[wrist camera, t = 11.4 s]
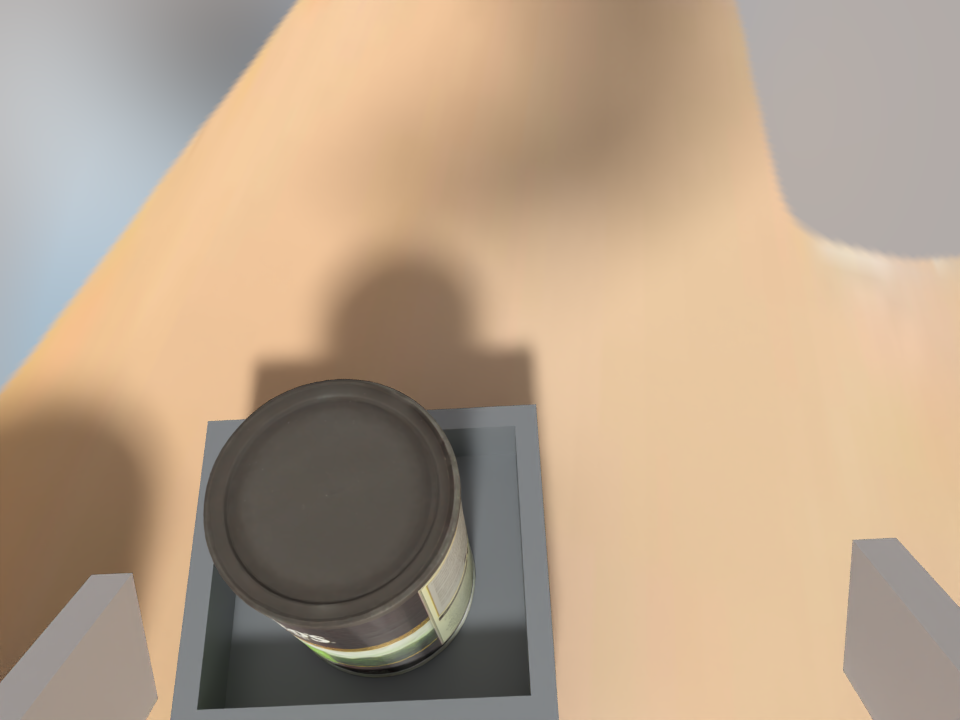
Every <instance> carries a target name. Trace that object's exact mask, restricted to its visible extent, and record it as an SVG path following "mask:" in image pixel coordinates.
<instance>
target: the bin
mask: <svg viewBox="0 0 960 720" xmlns="http://www.w3.org/2000/svg"><path fill="white" fill-rule="evenodd" d="M426 411H427V412H428V413H429V414H430V415H431V416H432V417H433V418H434V419H435V420H436V422H437V423H438V424H439V426H440V427H441V428H442V430H443V431H444V433H445V435H446V437H447V439H448V440H449V442H450V444H451V446H452V449H453V452H454V454H455V457H456V461H457V465H458V470H459V475H460V484H461V503H462V509H463V515H464V520H465V525H466V531H467V535H468V541H469V545H470V547H471V551H472V554H473V559H474V565H475V576H476V579H475V589H474V595H473V599H472V603H471V607H470V610H469V612H468V615H467V617H466V620H465V622H464V624H463V625H462V627H461V629H460V630H459V632H458V633H457V635H456V636H455V638H454V639H453V640H452V642H451V643H450V644H449V645H448V646H447V647H446V648H445V649H444V650H443V651H442V652H440V653H439V654H438V655H437V656H435V657H434V658H433V659H431V660H430V661H428V662H427V663H425V664H424V665H422V666H420V667H418V668H416V669H413V670H411V671H409V672H406V673H403V674H399V675H395V676H389V677H378V678H372V677H363V676H358V675H353V674H350V673H347V672H344V671H341V670H339V669H337V668H335V667H333V666H331V665H329V664H328V663H326V662H325V661H323V660H322V659H321V658H319V657H318V656H317V655H316V654H315V653H314V652H313V651H312V650H311V649H310V648H309V647H308V646H307V645H306V644H304V643H303V642H302V641H300V640H299V639H298V638H296V637H295V636H294V635H293V634H291V633H290V632H289V631H287V630H286V629H285V628H283V627H282V626H280V625H279V624H278V623H277V622H276V621H274V620H273V619H271V618H269V617H267V616H265V615H263V614H261V613H260V612H258V611H256V610H255V609H253V608H252V607H250V606H249V605H247V604H246V603H245V602H244V601H243V600H242V599H241V598H239V597H238V596H237V595H236V594H235V593H234V592H233V591H232V589H231V588H230V587H229V586H228V585H227V584H226V582H225V581H224V580H223V578H222V577H221V576H220V574H219V572H218V570H217V568H216V566H215V565H214V563H213V561H212V558H211V555H210V553H209V550H208V547H207V543H206V539H205V532H204V524H203V519H204V518H203V510H204V498H205V492H206V487H207V483H208V480H209V476H210V473H211V470H212V467H213V465H214V463H215V460H216V459H217V457H218V455H219V453H220V451H221V449H222V448H223V446H224V445H225V443H226V442H227V440H228V439H229V438H230V436H231V435H232V434H233V433H234V431H235V430H236V429H237V428H238V427H239V426H240V425H241V424H242V423H243V422H244V421H245V420H246V419H243V420H224V421H208V426H207V434H206V442H205V450H204V458H203V466H202V474H201V482H200V490H199V497H198V505H197V513H196V521H195V529H194V537H193V545H192V553H191V561H190V569H189V576H188V584H187V592H186V600H185V608H184V616H183V624H182V632H181V640H180V647H179V655H178V663H177V671H176V679H175V687H174V695H173V703H172V711H171V719H170V720H559V716H558V702H557V689H556V675H555V661H554V647H553V633H552V620H551V606H550V592H549V578H548V564H547V551H546V537H545V523H544V509H543V495H542V482H541V468H540V454H539V440H538V427H537V413H536V404H535V405H516V406H496V407H477V408H457V409H438V410H426Z"/></svg>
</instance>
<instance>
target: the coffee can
mask: <svg viewBox="0 0 960 720" xmlns="http://www.w3.org/2000/svg"><path fill="white" fill-rule="evenodd" d="M203 518H204V519H203V524H204V532H205V539H206V543H207V547H208V550H209V553H210V555H211V558H212V561H213V563H214V565H215V566H216V568H217V570H218V572H219V574H220V576H221V577H222V578H223V580H224V581H225V582H226V584H227V585H228V586H229V587H230V588H231V589H232V591H233V592H234V593H235V594H236V595H237V596H238V597H239V598H241V599H242V600H243V601H244V602H245V603H246V604H247V605H249V606H250V607H252V608H253V609H255V610H256V611H258V612H260V613H261V614H263V615H265V616H267V617H269V618H271V619H273V620H274V621H276V622H277V623H278V624H279V625H280V626H282V627H283V628H285V629H286V630H287V631H289V632H290V633H291V634H293V635H294V636H295V637H296V638H298V639H299V640H300V641H302V642H303V643H304V644H306V645H307V646H308V647H309V648H310V649H311V650H312V651H313V652H314V653H315V654H316V655H317V656H318V657H319V658H321V659H322V660H323V661H325V662H326V663H328V664H329V665H331V666H333V667H335V668H337V669H339V670H341V671H344V672H347V673H350V674H353V675H358V676H363V677H372V678H378V677H389V676H395V675H399V674H403V673H406V672H409V671H411V670H413V669H416V668H418V667H420V666H422V665H424V664H425V663H427V662H428V661H430V660H431V659H433V658H434V657H435V656H437V655H438V654H439V653H440V652H442V651H443V650H444V649H445V648H446V647H447V646H448V645H449V644H450V643H451V642H452V640H453V639H454V638H455V636H456V635H457V633H458V632H459V630H460V629H461V627H462V625H463V624H464V622H465V620H466V617H467V615H468V612H469V610H470V607H471V603H472V599H473V595H474V589H475V579H476V576H475V565H474V559H473V554H472V551H471V547H470V545H469V541H468V535H467V531H466V525H465V520H464V515H463V509H462V503H461V484H460V475H459V470H458V465H457V461H456V457H455V454H454V452H453V449H452V446H451V444H450V442H449V440H448V439H447V437H446V435H445V433H444V431H443V430H442V428H441V427H440V426H439V424H438V423H437V422H436V420H435V419H434V418H433V417H432V416H431V415H430V414H429V413H428V412H427V411H426V410H425V409H424V408H423V407H422V406H421V405H420V404H418V403H417V402H416V401H414V400H413V399H411V398H410V397H408V396H406V395H404V394H403V393H401V392H399V391H397V390H395V389H392V388H390V387H387V386H384V385H381V384H378V383H374V382H370V381H363V380H352V379H336V380H326V381H320V382H314V383H310V384H306V385H303V386H299V387H297V388H294V389H292V390H289V391H287V392H285V393H283V394H281V395H279V396H277V397H275V398H273V399H271V400H269V401H268V402H267V403H265V404H264V405H262V406H261V407H260V408H258V409H257V410H256V411H255V412H253V413H252V414H251V415H250V416H249V417H248V418H247V419H246V420H245V421H244V422H243V423H242V424H241V425H240V426H239V427H238V428H237V429H236V430H235V431H234V433H233V434H232V435H231V436H230V438H229V439H228V440H227V442H226V443H225V445H224V446H223V448H222V449H221V451H220V453H219V455H218V457H217V459H216V460H215V463H214V465H213V467H212V470H211V473H210V476H209V480H208V483H207V487H206V492H205V498H204V510H203Z"/></svg>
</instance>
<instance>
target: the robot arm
mask: <svg viewBox="0 0 960 720" xmlns="http://www.w3.org/2000/svg"><path fill="white" fill-rule="evenodd" d="M843 671H844V673H845V674H846V676H847V678H848V679H849V681H850V683H851V684H852V686H853V687H854V689H855V691H856V692H857V694H858V696H859V697H860V699H861V701H862V702H863V704H864V706H865V707H866V709H867V710H868V712H869V714H870V715H871V717H872V719H873V720H960V607H959V606H958V605H957V604H956V603H955V602H954V601H953V600H952V599H951V598H950V596H949V595H948V594H947V593H946V592H945V591H944V590H943V589H942V588H941V587H940V586H939V584H938V583H937V582H936V581H935V580H934V579H933V578H932V577H931V576H930V575H929V573H928V572H927V571H926V570H925V569H924V568H923V567H922V566H921V565H920V564H919V562H918V561H917V560H916V559H915V558H914V557H913V556H912V555H911V554H910V553H909V552H908V550H907V549H906V548H905V547H904V546H903V545H902V544H901V543H900V542H899V541H898V539H897V538H883V539H862V540H853V543H852V557H851V570H850V584H849V597H848V611H847V624H846V638H845V651H844V665H843ZM157 699H158V696H157V691H156V686H155V681H154V677H153V672H152V667H151V662H150V657H149V652H148V647H147V642H146V637H145V632H144V627H143V623H142V618H141V613H140V608H139V603H138V598H137V593H136V588H135V583H134V578H133V573H119V574H98V575H91V576H90V577H89V578H88V580H87V581H86V582H85V583H84V584H83V586H82V587H81V588H80V589H79V590H78V591H77V593H76V594H75V595H74V596H73V597H72V599H71V600H70V601H69V602H68V603H67V604H66V606H65V607H64V608H63V609H62V610H61V612H60V613H59V614H58V615H57V616H56V617H55V619H54V620H53V621H52V622H51V623H50V625H49V626H48V627H47V628H46V629H45V630H44V632H43V633H42V634H41V635H40V636H39V638H38V639H37V640H36V641H35V642H34V643H33V645H32V646H31V647H30V648H29V649H28V651H27V652H26V653H25V654H24V655H23V656H22V658H21V659H20V660H19V661H18V662H17V664H16V665H15V666H14V667H13V668H12V669H11V671H10V672H9V673H8V674H7V675H6V677H5V678H4V679H3V680H2V681H1V682H0V720H146V719H147V717H148V715H149V713H150V712H151V710H152V708H153V706H154V704H155V703H156V701H157Z"/></svg>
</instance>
